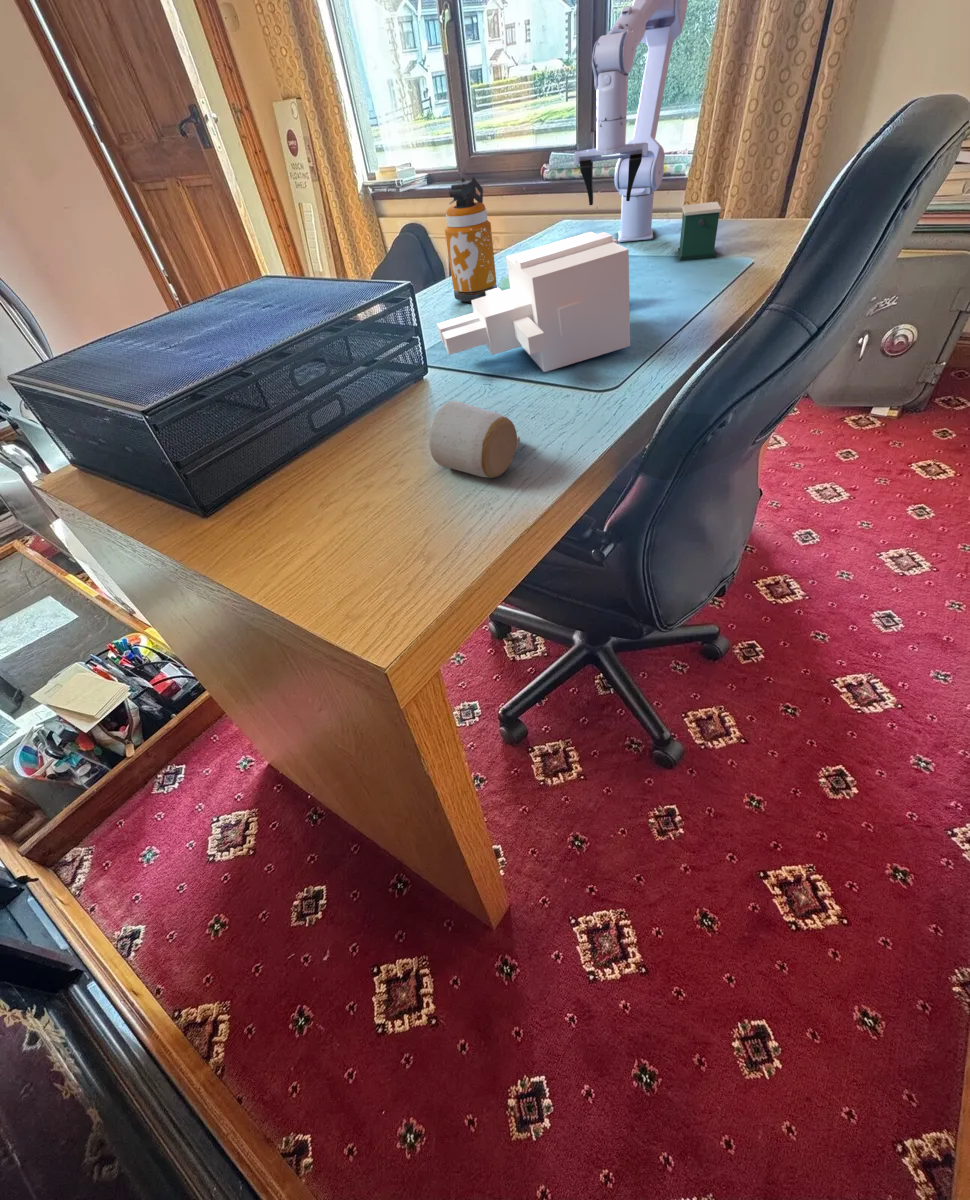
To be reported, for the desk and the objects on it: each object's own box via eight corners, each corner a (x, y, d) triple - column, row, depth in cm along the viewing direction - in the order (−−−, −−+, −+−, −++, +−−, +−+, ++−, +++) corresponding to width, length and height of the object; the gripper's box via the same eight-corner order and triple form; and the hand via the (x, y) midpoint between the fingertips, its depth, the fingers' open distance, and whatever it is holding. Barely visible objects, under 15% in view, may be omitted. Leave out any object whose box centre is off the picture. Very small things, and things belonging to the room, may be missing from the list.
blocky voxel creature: (440, 358, 100) (588, 313, 101) (470, 416, 82) (650, 361, 83) (417, 267, 90) (582, 218, 91) (446, 310, 72) (651, 249, 73)
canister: (448, 304, 116) (430, 186, 102) (469, 287, 123) (454, 175, 110) (488, 304, 113) (474, 182, 99) (507, 287, 120) (497, 171, 106)
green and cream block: (685, 212, 112) (721, 208, 111) (682, 204, 118) (717, 201, 116) (680, 261, 118) (714, 258, 117) (677, 251, 124) (710, 248, 122)
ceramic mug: (489, 492, 64) (482, 429, 58) (433, 477, 68) (421, 416, 62) (536, 449, 70) (533, 388, 64) (482, 437, 74) (475, 379, 68)
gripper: (572, 126, 109) (573, 209, 119) (650, 115, 106) (644, 202, 115) (575, 122, 114) (576, 203, 124) (649, 112, 111) (644, 195, 120)
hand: (609, 202), depth 120 cm, fingers open, 7 cm apart
